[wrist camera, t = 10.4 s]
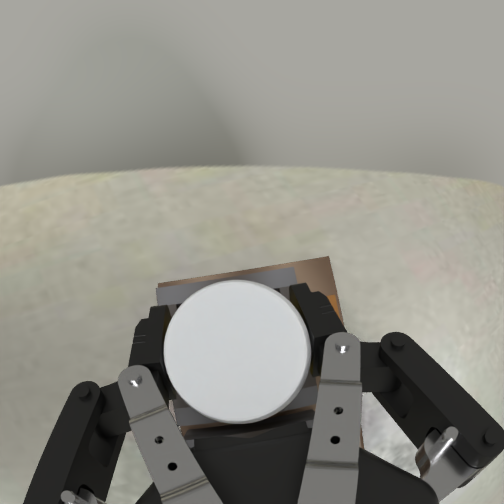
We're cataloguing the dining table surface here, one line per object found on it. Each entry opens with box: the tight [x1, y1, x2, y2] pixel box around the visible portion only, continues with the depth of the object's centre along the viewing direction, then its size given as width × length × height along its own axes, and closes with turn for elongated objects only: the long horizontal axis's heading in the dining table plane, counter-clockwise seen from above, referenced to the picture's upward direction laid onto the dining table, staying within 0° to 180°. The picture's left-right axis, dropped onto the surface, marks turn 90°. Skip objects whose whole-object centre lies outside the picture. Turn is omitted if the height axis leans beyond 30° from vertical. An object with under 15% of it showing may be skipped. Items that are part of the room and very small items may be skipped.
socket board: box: [156, 256, 364, 449], centre depth 20 cm, size 13×21×4 cm, turn 10°
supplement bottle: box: [164, 280, 311, 424], centre depth 13 cm, size 5×5×10 cm
